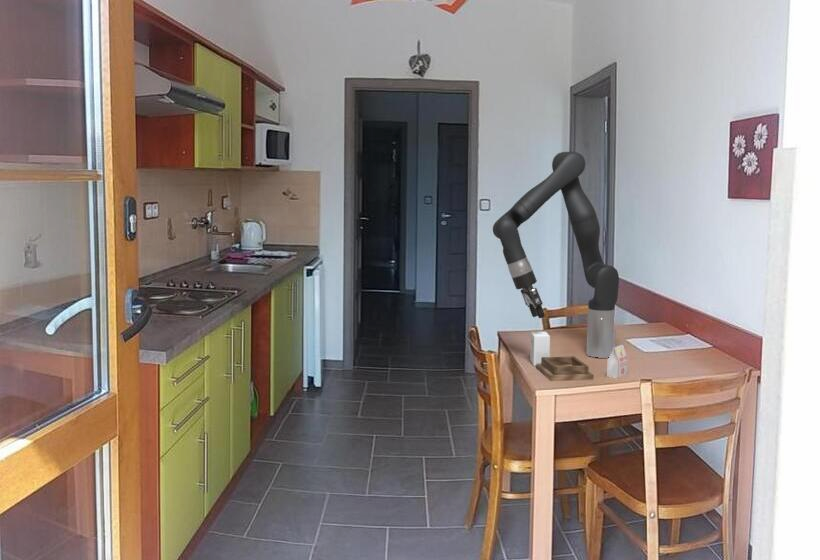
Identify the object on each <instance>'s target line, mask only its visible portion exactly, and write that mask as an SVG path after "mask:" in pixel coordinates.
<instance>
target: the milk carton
mask: <svg viewBox="0 0 820 560" xmlns="http://www.w3.org/2000/svg"><path fill="white" fill-rule="evenodd" d="M606 363H607V364H606V377H607V376H609V377H613V378H620V377H622V376H624V375H627V374H628V356H627V353H626V351H625V347H624V344H620V345H617V346H615V347H614V348H613V350H612V352H611V354H610V356H609V358H607V360H606ZM624 377H625V376H624ZM622 378H623V377H622ZM620 379H621V378H620Z"/></svg>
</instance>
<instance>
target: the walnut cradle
mask: <svg viewBox="0 0 820 560" xmlns="http://www.w3.org/2000/svg"><path fill="white" fill-rule="evenodd" d="M535 367H536V370H538V371H539V372H540V373H541V374H542V375H544V376H545V377H546V378H547V379H548V380H549V381H551V382H552V381H554V382H556V381H557V382H559V381H560V382H561V381H584V380H583V379H593V380H594V377H595V376H594V374H593V373H591V372H590V371H589V365H587V364H586V363H585V362H583V361H582V360H580V359H578V358H577V357H576V356H573V355H571V356H550V357H541V364H536V366H535Z"/></svg>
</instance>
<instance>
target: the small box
mask: <svg viewBox="0 0 820 560" xmlns="http://www.w3.org/2000/svg"><path fill="white" fill-rule="evenodd" d="M541 357H551V336H550V334H549V333H548V332H547V331H531V332H530V357H529V360H530V363H531V364H532V365H533V367H536V364H541Z"/></svg>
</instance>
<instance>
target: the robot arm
mask: <svg viewBox="0 0 820 560" xmlns="http://www.w3.org/2000/svg"><path fill="white" fill-rule="evenodd" d="M551 168H552V172H551V173H550V174H549V175H548V176H547V177H546V178H545V179H544V180H542V181H541V182H539V183H538V184H537V185H535V186H534V187H532V188H531V189H529V190H528V191H527V192H526V193H524V194H523V195H522V196H521V198H519V199H518V200H517V201H516V202H515V203H514V204H513V206H512V207H511V208H510V209H508V211H506V212H505V213H504V214H503V215H501V216H500V217H499V218H498V219H497V220H496V221H495V222H494V223H493V226H492V233H493V235H494V237H496V238H497V239H499V240H500V243H501V245H502V253H503V257H504V259H505V262H506V265H507V268H508V272H509V273H510V276H511V280H512V282H513V284H514V287H515V289H516V290H520V293H521V295H522V298H523V301H524V303H525V306H527V308H528V309H529V312H530V314H531V316H532V317H533V318H536V317H538V318H539V319H542V318H545V317H546V314H545V311H544V309H543V301H542V299H541V296H540V294H539V291H538V288H537V287H534V286H533V285H534V284H536V283H537V278H536V275H535V273H534V270H533V268H532V265H531V263H530V261H529V259H528V257H527V254H526V252H525V250H524V247H523V244H522V242H521V235H520V231H519V229H518V228H519V227H520V226H521V225H522V224H523V223H525V222H527V221H528V220H529V219H531V217H532V216H533V215H534V214H535V213H536V212H537V211H538V210H539V209H541V207H543V205H545V203H546V202H548V201H549V200H551V198H553V196H555V194H557V193H558V192H559V191H561V193H562V196H563V201H564V204H565V208H566V211H567V215H568V219H569V222H570V224H571V228H572V232H573V234H574V237H575V238H574V239H575V241H576V244H577V247H578V250H579V253H580V254H579V255H580V257H581V263H582V269H583V273H584V278H585V280H586V282H587V284H588V286H590V287H591V288H593V289H594V293H593V298H591V299H589V301H588V304H587V307H588V308H587V329H586V330H587V331H586V332H587V333H586V350H585V351H586V353H585V354H586V355H587V356H588V357H590V356H591V358H595V357H598V358H599V359H608V357H609V356H610V354H611V352H612V350H613V348H614V347H616V334H617V333H616V330H615V309H616V303H617V301H618V297H619V296H618V295H619V284H620V277H619V272H618V270H617V269H616V268H615V267H614V266H613V265H609V264H605V262H604V261H603V257H602V254H601V252H600V235H601V234H600V233H601V232H600V231H601V229H600V222H599V220H598V215H597V213H596V210H595V207H594V206H593V204H592V202H591V201H590V199H589V197H588V196H587V195H586V193H585V192H584V190H583V188H582V185H581V182H580V179H579V176H581V175H582V174H583V172H584V171H585V169H586V159H585V157H584V156H583V155H582V154H581V153H579V152H577V151H561V152H558V153H557V154H555V156H554V157H553V159H552V162H551ZM598 358H597V359H598Z"/></svg>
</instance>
